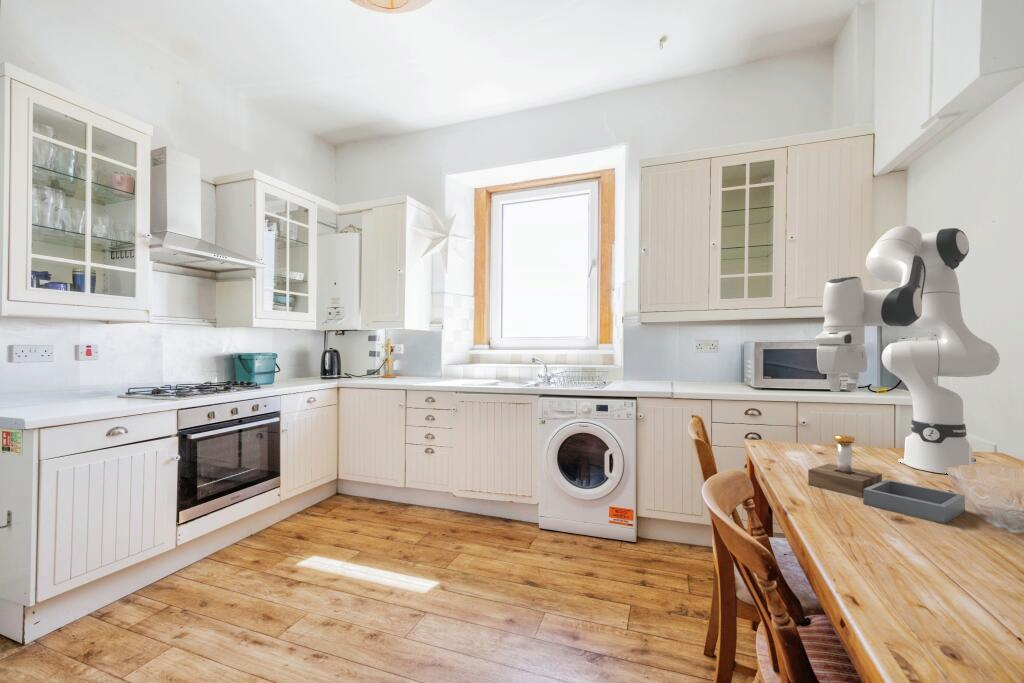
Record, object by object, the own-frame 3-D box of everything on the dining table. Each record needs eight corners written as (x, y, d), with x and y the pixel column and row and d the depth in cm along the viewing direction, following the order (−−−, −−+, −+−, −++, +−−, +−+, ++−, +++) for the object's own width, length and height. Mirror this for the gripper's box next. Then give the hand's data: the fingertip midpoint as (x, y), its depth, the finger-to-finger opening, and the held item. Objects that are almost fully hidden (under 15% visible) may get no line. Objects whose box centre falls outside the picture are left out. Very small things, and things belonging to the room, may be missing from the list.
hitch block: (829, 477, 125) (829, 463, 125) (882, 489, 115) (882, 473, 115) (808, 484, 119) (808, 469, 119) (862, 497, 109) (862, 481, 109)
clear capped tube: (838, 483, 120) (838, 434, 120) (858, 487, 116) (857, 437, 116) (831, 486, 118) (830, 436, 118) (850, 490, 114) (850, 439, 114)
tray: (887, 493, 112) (887, 479, 112) (964, 510, 100) (964, 495, 100) (863, 503, 104) (863, 488, 104) (944, 524, 92) (944, 507, 92)
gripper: (846, 338, 126) (847, 387, 125) (811, 337, 115) (811, 391, 115) (874, 338, 120) (874, 389, 120) (839, 337, 109) (840, 393, 109)
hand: (843, 390), depth 117 cm, fingers open, 8 cm apart
